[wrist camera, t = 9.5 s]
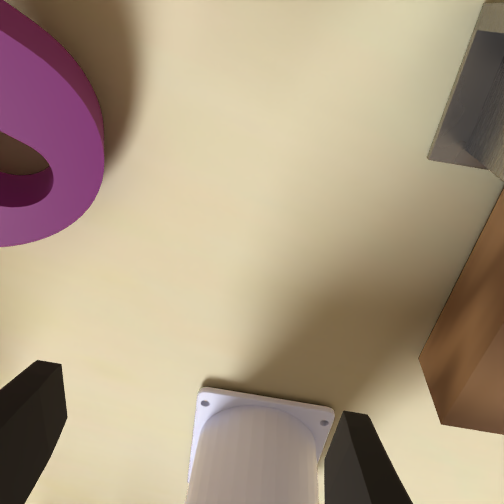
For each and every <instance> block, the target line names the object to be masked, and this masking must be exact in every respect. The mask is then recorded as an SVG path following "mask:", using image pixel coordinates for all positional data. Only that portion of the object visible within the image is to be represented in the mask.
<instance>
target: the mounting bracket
mask: <svg viewBox="0 0 504 504" xmlns="http://www.w3.org/2000/svg"><path fill="white" fill-rule="evenodd" d="M0 131H1V132H3V133H5V134H7V135H9V136H11V137H13V138H14V139H16V140H18V141H20V142H22V143H24V144H26V145H28V146H30V147H31V148H33V149H34V150H36V151H37V152H38V153H40V154H41V155H42V156H43V157H44V158H45V159H46V161H47V162H48V163H49V165H50V166H49V167H48V168H46V169H45V170H43V171H41V172H39V173H36V174H31V175H12V174H7V173H3V172H0V247H7V246H15V245H21V244H26V243H30V242H34V241H37V240H40V239H43V238H46V237H49V236H51V235H53V234H56V233H58V232H59V231H61V230H63V229H65V228H67V227H68V226H69V225H71V224H72V223H74V222H75V221H76V220H77V219H78V218H80V217H81V216H82V215H83V214H84V213H85V211H86V210H87V209H88V208H89V207H90V205H91V204H92V202H93V201H94V199H95V197H96V195H97V193H98V191H99V189H100V186H101V183H102V179H103V173H104V126H103V118H102V113H101V109H100V105H99V103H98V100H97V97H96V94H95V92H94V90H93V88H92V86H91V84H90V82H89V80H88V79H87V77H86V75H85V74H84V72H83V71H82V69H81V68H80V67H79V65H78V64H77V63H76V61H75V60H74V59H73V57H72V56H71V55H70V54H69V53H68V52H67V51H66V50H65V49H64V47H63V46H62V45H61V44H60V43H59V42H57V41H56V40H55V39H54V38H53V37H52V36H51V35H50V34H49V33H48V32H46V31H45V30H44V29H42V28H41V27H40V26H39V25H37V24H36V23H35V22H33V21H32V20H31V19H29V18H28V17H26V16H25V15H24V14H22V13H21V12H19V11H18V10H17V9H15V8H14V7H12V6H11V5H10V4H8V3H7V2H5V1H4V0H0Z"/></svg>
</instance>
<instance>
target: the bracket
mask: <svg viewBox="0 0 504 504" xmlns="http://www.w3.org/2000/svg"><path fill="white" fill-rule="evenodd" d="M427 158H428V159H429V160H433V161H439V162H445V163H451V164H457V165H463V166H469V167H475V168H481V169H487V170H490V171H491V172H492V173H494V174H495V175H496V176H497V177H499V178H500V179H501V180H502V181H503V182H504V3H484V4H483V6H482V9H481V12H480V14H479V17H478V20H477V23H476V25H475V28H474V31H473V34H472V36H471V39H470V42H469V44H468V47H467V50H466V53H465V55H464V58H463V61H462V63H461V66H460V69H459V72H458V74H457V77H456V80H455V82H454V85H453V88H452V91H451V93H450V96H449V99H448V101H447V104H446V107H445V110H444V112H443V115H442V118H441V120H440V123H439V126H438V129H437V131H436V134H435V137H434V139H433V142H432V145H431V148H430V150H429V153H428V156H427Z"/></svg>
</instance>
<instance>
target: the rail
mask: <svg viewBox="0 0 504 504" xmlns="http://www.w3.org/2000/svg"><path fill="white" fill-rule="evenodd" d="M419 361H420V364H421V367H422V370H423V373H424V376H425V379H426V382H427V385H428V388H429V391H430V394H431V396H432V399H433V402H434V405H435V408H436V411H437V414H438V417H439V420H440V423H441V424H442V425H448V426H454V427H460V428H466V429H472V430H478V431H484V432H490V433H497V434H503V435H504V189H503V191H502V193H501V195H500V197H499V199H498V201H497V203H496V205H495V207H494V209H493V211H492V213H491V215H490V217H489V219H488V221H487V223H486V225H485V227H484V229H483V231H482V233H481V235H480V237H479V239H478V241H477V243H476V245H475V247H474V249H473V251H472V253H471V255H470V257H469V259H468V261H467V263H466V265H465V267H464V269H463V271H462V273H461V275H460V277H459V279H458V281H457V283H456V285H455V287H454V289H453V291H452V293H451V295H450V297H449V299H448V301H447V303H446V305H445V307H444V309H443V310H442V312H441V314H440V316H439V318H438V320H437V322H436V324H435V326H434V328H433V330H432V332H431V334H430V336H429V338H428V340H427V342H426V344H425V346H424V348H423V350H422V352H421V354H420V356H419Z"/></svg>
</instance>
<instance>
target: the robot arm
mask: <svg viewBox="0 0 504 504" xmlns="http://www.w3.org/2000/svg"><path fill="white" fill-rule="evenodd" d="M204 400H206V401H204ZM334 419H335V413H334V410H333V409H332V408H330V407H326V406H320V405H314V404H308V403H302V402H296V401H290V400H284V399H278V398H272V397H266V396H260V395H254V394H248V393H242V392H235V391H229V390H223V389H217V388H211V387H202V388H200V389H199V391H198V395H197V404H196V412H195V421H194V429H193V438H192V446H191V455H190V464H189V472H188V483H189V486H188V490H187V495H186V500H185V504H319V492H318V475H317V464H318V461H319V459H320V456H321V453H322V451H323V448H324V445H325V443H326V440H327V437H328V435H329V432H330V429H331V427H332V424H333V421H334ZM66 420H67V409H66V400H65V392H64V383H63V375H62V366H61V364H58V363H52V362H46V361H40V360H37V361H35V362H34V363H32V364H31V365H30V366H29V367H28V368H26V369H25V370H24V371H23V372H21V373H20V374H19V375H18V376H16V377H15V378H14V379H13V380H12V381H10V382H9V383H8V384H7V385H5V386H4V387H3V388H2V389H1V390H0V504H25V502H26V500H27V498H28V497H29V495H30V493H31V491H32V490H33V488H34V486H35V484H36V482H37V481H38V479H39V477H40V475H41V473H42V472H43V470H44V468H45V466H46V465H47V463H48V461H49V459H50V457H51V455H52V453H53V450H54V448H55V446H56V444H57V441H58V439H59V437H60V434H61V432H62V429H63V427H64V425H65V422H66ZM324 484H325V504H413V503H412V501H411V499H410V497H409V495H408V494H407V492H406V490H405V488H404V486H403V484H402V483H401V481H400V479H399V477H398V475H397V473H396V471H395V469H394V467H393V465H392V463H391V461H390V459H389V457H388V455H387V453H386V451H385V449H384V447H383V445H382V443H381V441H380V439H379V436H378V434H377V432H376V430H375V428H374V426H373V424H372V421H371V419H370V418H369V416H368V415H367V414H361V413H355V412H348V411H343V413H342V416H341V418H340V421H339V423H338V426H337V429H336V431H335V434H334V436H333V439H332V442H331V444H330V447H329V449H328V452H327V455H326V457H325V466H324Z"/></svg>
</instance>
